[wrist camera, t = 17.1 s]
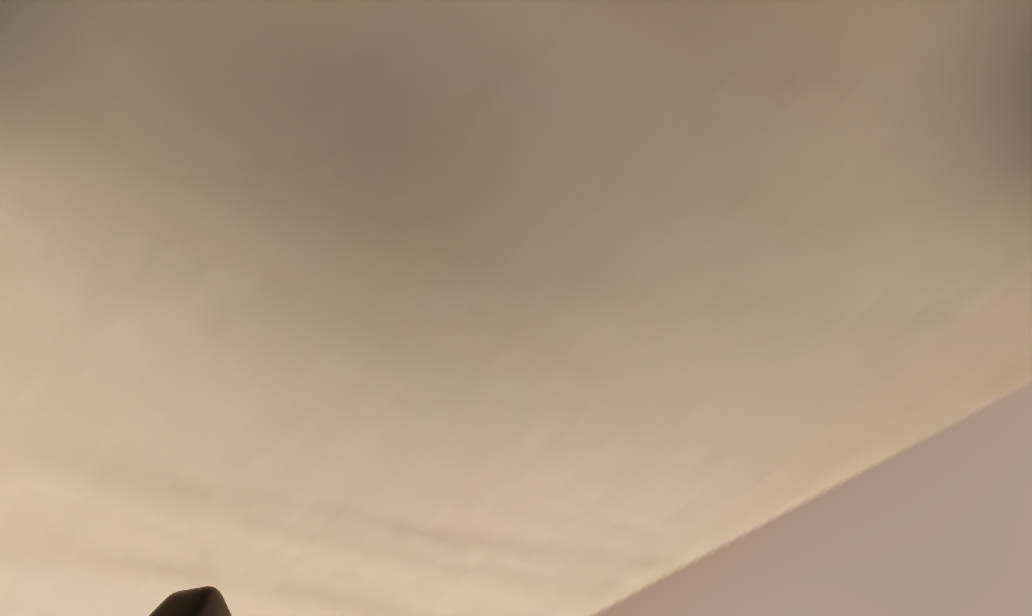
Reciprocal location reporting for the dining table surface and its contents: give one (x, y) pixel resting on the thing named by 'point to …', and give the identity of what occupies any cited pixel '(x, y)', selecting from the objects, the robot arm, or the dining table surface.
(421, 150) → the dining table surface
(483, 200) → the dining table surface
